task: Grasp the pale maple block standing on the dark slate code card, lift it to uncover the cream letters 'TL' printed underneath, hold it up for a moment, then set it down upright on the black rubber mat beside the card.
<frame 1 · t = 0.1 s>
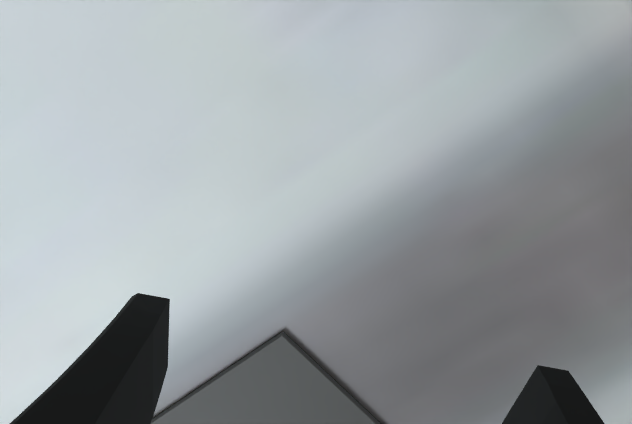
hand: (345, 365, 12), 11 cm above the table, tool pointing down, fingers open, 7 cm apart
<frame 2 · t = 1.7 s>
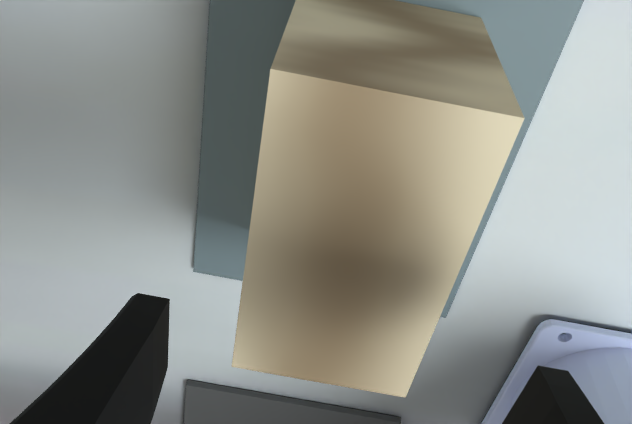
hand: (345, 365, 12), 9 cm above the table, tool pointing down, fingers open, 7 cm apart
code card: (358, 137, 19), on the table
maple block: (357, 140, 19), resting on code card
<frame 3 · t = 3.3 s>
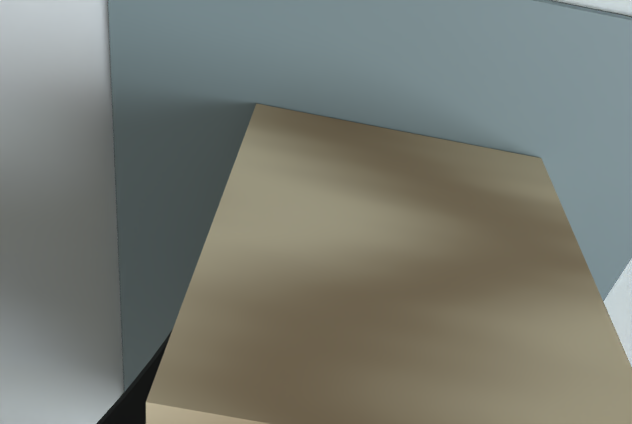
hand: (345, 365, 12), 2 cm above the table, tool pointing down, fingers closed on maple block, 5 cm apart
code card: (348, 303, 13), on the table
maple block: (347, 311, 13), resting on code card, touching gripper
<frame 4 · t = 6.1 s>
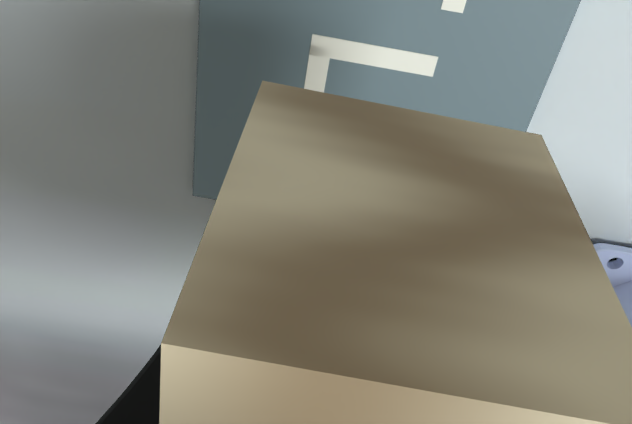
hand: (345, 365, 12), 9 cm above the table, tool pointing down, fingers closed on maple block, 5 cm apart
code card: (380, 18, 16), on the table
maple block: (350, 291, 13), point 7 cm above the table, touching gripper
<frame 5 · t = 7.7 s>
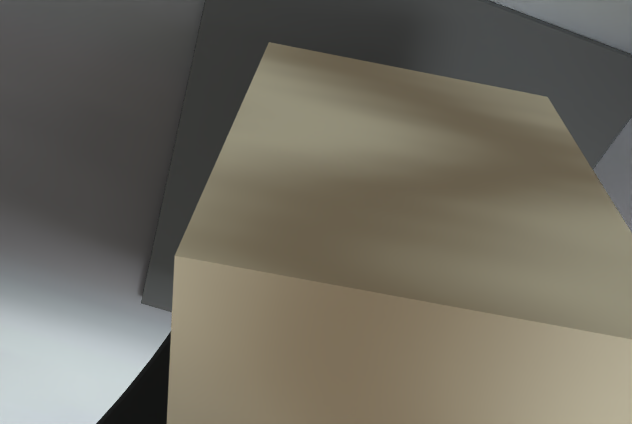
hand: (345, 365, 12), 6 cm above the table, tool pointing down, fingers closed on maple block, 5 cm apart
rubber mat: (355, 201, 16), on the table
maple block: (355, 264, 13), point 3 cm above the table, touching gripper
when the fingers open (3 cm above the table, at t = 9.1 s): maple block stays where it is, resting on rubber mat.
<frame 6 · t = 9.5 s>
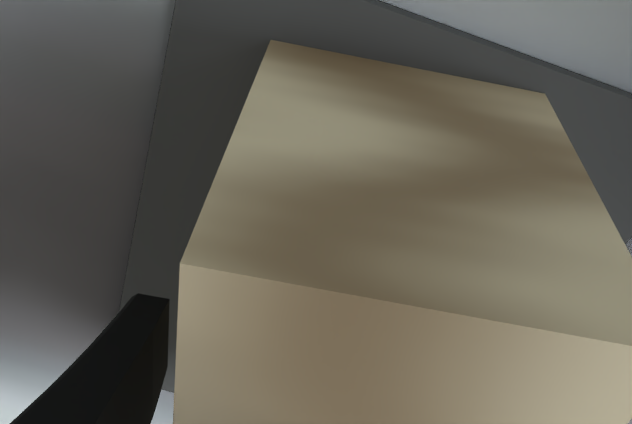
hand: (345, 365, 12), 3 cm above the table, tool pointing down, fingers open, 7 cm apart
rubber mat: (350, 270, 14), on the table
maple block: (356, 254, 13), resting on rubber mat
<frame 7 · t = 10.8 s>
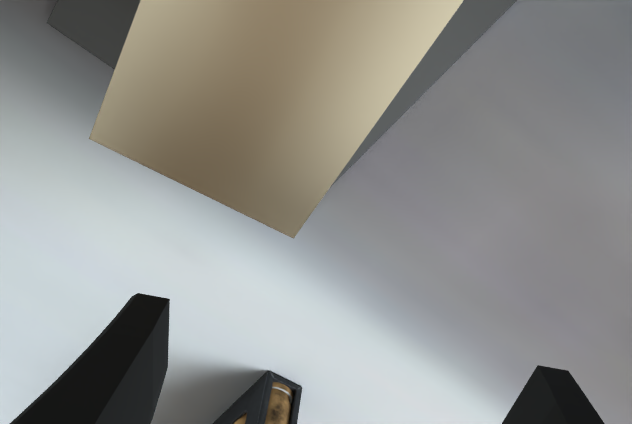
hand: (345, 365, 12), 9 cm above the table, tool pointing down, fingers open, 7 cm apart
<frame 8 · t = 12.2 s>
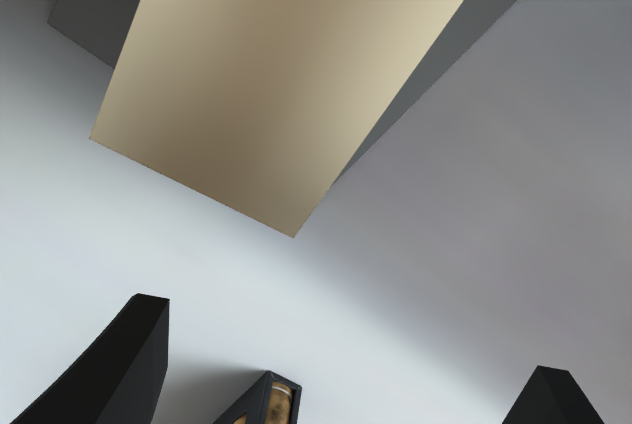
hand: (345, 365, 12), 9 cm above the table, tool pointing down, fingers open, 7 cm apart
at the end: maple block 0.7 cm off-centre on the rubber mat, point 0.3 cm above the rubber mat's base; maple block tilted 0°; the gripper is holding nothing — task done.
